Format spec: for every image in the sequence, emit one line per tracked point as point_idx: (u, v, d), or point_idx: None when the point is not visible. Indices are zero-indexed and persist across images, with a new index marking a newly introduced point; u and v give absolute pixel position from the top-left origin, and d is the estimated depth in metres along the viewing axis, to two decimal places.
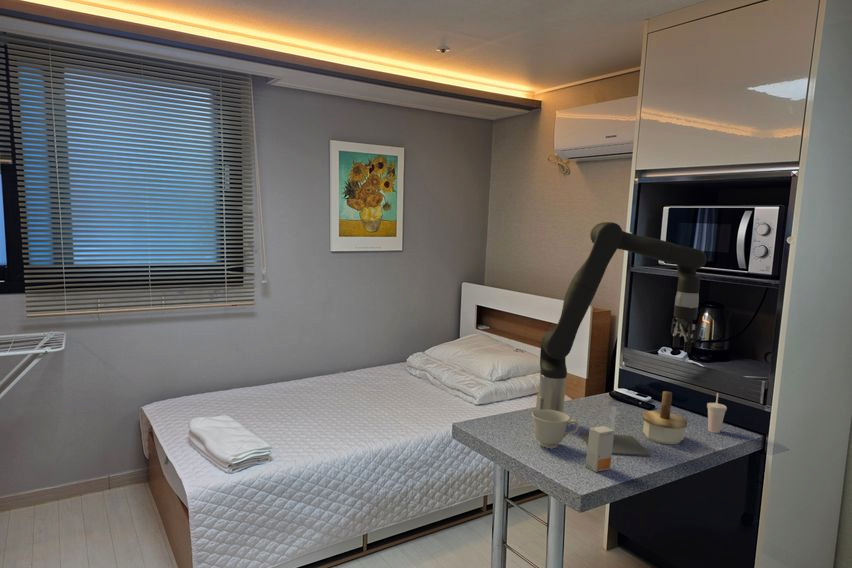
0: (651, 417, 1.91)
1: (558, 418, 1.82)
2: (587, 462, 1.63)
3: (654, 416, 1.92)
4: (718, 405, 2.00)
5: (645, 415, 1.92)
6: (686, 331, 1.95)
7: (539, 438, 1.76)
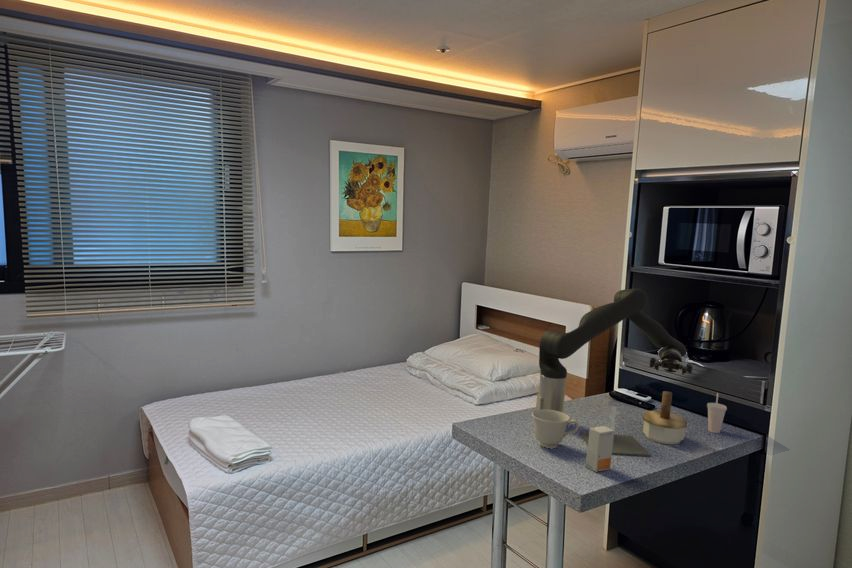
0: (651, 417, 1.91)
1: (558, 418, 1.82)
2: (587, 462, 1.63)
3: (654, 416, 1.92)
4: (718, 405, 2.00)
5: (645, 415, 1.92)
6: None
7: (539, 438, 1.76)
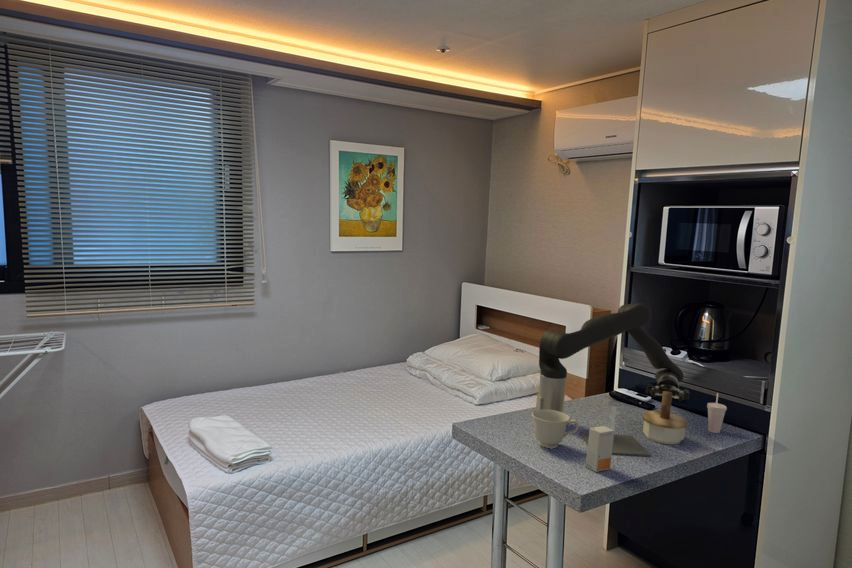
0: (651, 417, 1.91)
1: (558, 418, 1.82)
2: (587, 462, 1.63)
3: (654, 416, 1.92)
4: (718, 405, 2.00)
5: (645, 415, 1.92)
6: (675, 392, 2.02)
7: (539, 438, 1.76)
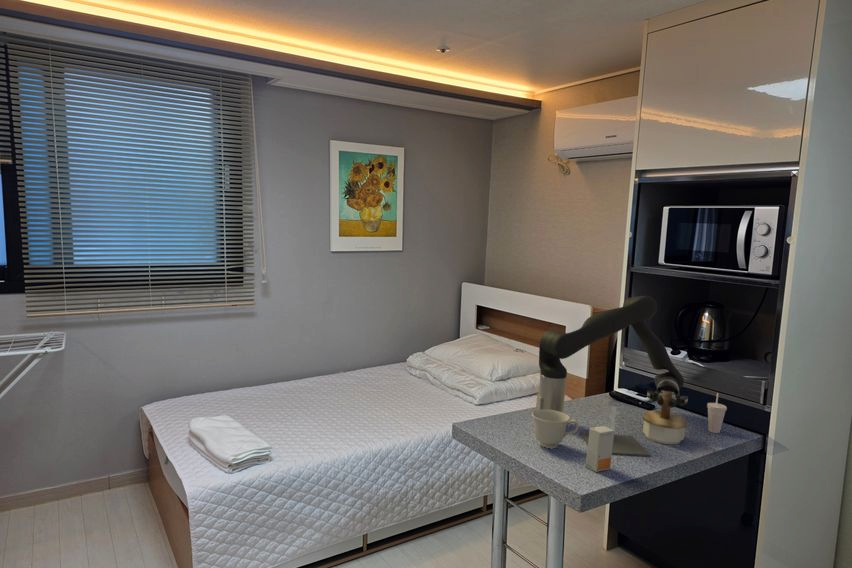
0: (651, 417, 1.91)
1: (558, 418, 1.82)
2: (587, 462, 1.63)
3: (654, 416, 1.92)
4: (718, 405, 2.00)
5: (645, 415, 1.92)
6: None
7: (539, 438, 1.76)
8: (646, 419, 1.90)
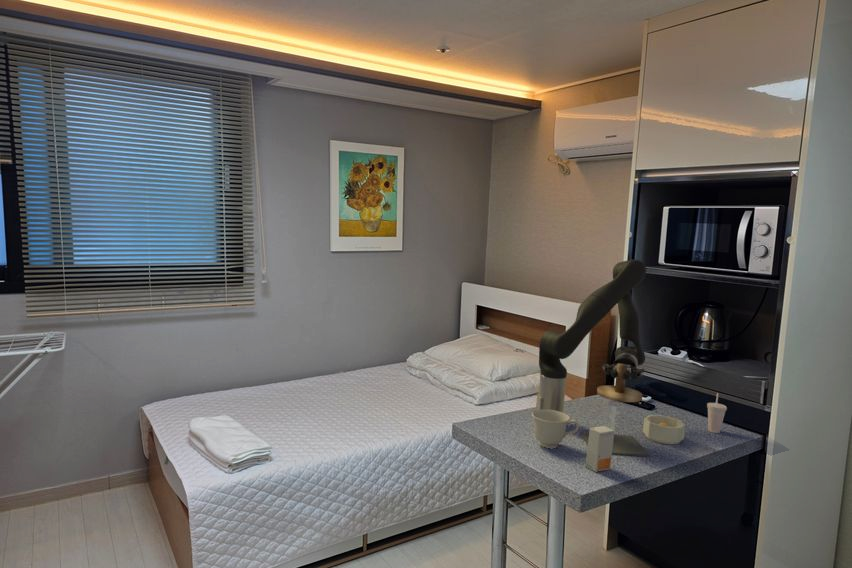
0: (605, 391, 1.81)
1: (558, 418, 1.82)
2: (587, 462, 1.63)
3: (609, 390, 1.82)
4: (718, 405, 2.00)
5: (599, 389, 1.82)
6: None
7: (539, 438, 1.76)
8: (599, 393, 1.79)
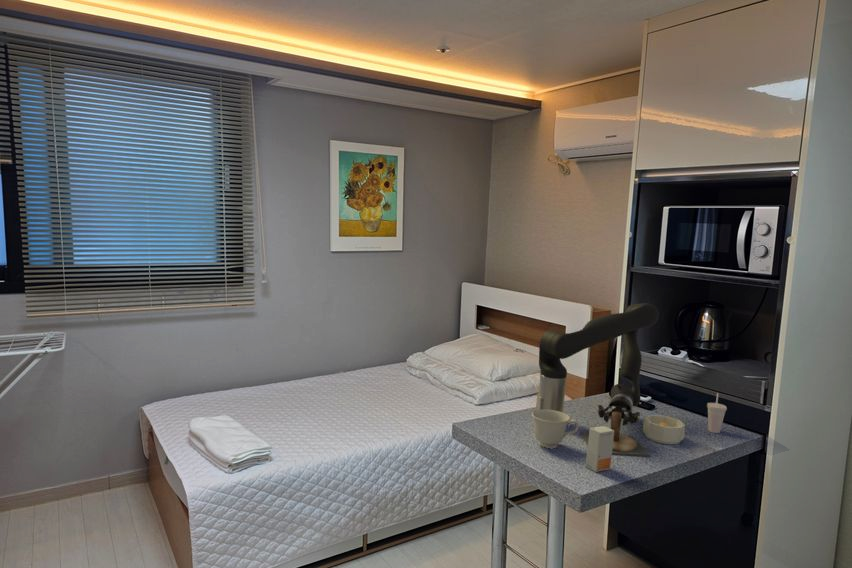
0: None
1: (558, 418, 1.82)
2: (587, 462, 1.63)
3: None
4: (718, 405, 2.00)
5: None
6: None
7: (539, 438, 1.76)
8: None
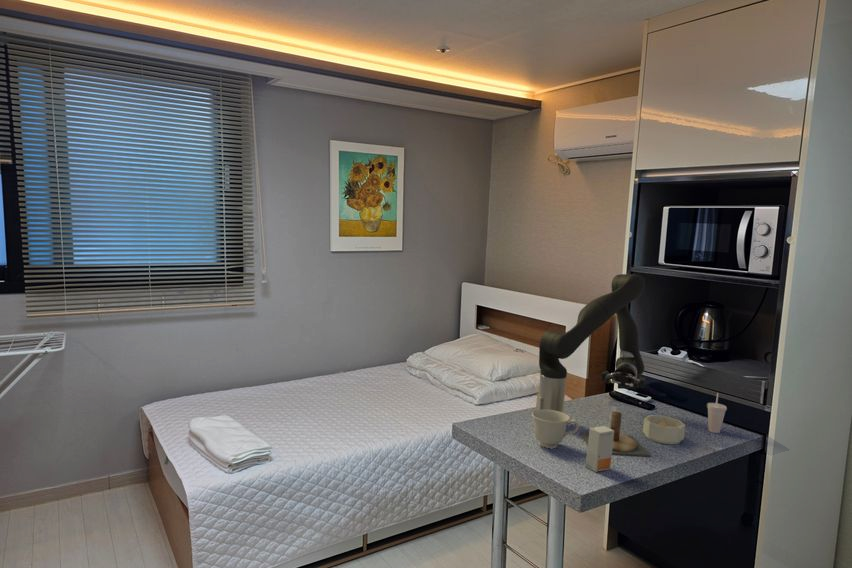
0: None
1: (558, 418, 1.82)
2: (587, 462, 1.63)
3: None
4: (718, 405, 2.00)
5: None
6: None
7: (539, 438, 1.76)
8: None
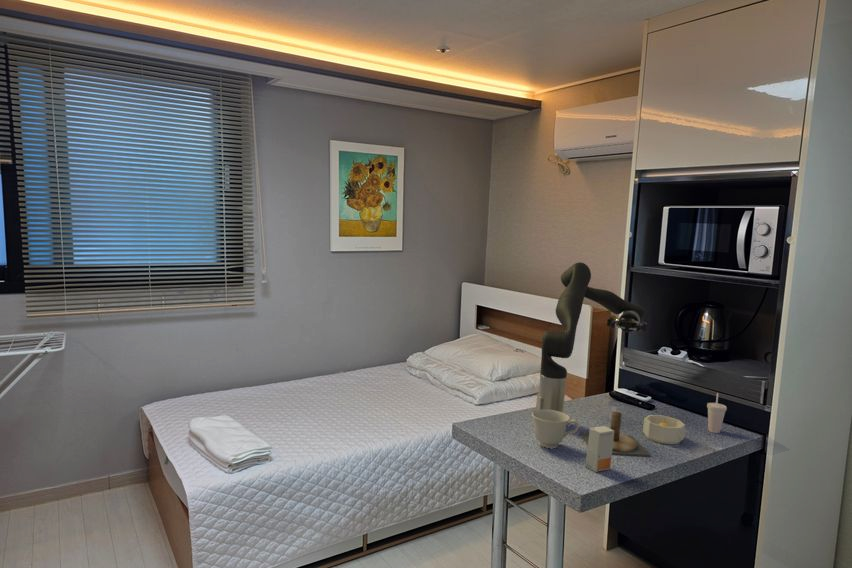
0: None
1: (558, 418, 1.82)
2: (587, 462, 1.63)
3: None
4: (718, 405, 2.00)
5: None
6: (634, 324, 2.11)
7: (539, 438, 1.76)
8: None
